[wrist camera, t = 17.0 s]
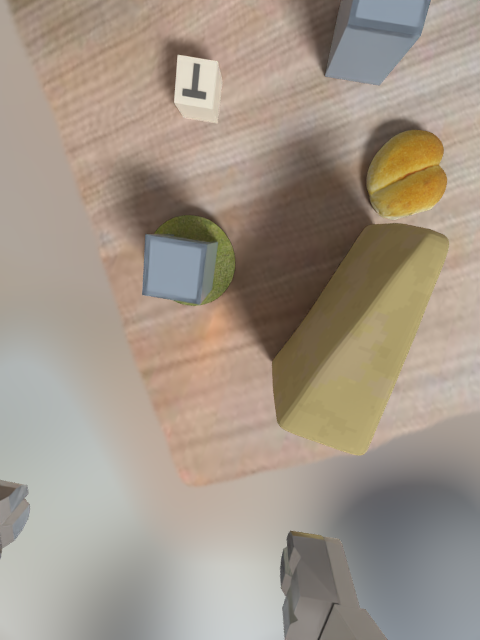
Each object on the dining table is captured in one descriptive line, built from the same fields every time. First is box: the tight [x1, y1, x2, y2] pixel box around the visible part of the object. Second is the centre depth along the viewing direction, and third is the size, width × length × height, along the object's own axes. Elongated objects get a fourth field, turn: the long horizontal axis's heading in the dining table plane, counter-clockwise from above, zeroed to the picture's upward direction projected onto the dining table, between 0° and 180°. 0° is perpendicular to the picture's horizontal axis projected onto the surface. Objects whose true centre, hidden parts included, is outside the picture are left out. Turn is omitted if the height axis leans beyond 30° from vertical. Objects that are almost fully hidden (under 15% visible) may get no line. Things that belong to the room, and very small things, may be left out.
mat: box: [154, 215, 235, 306], centre depth 36 cm, size 11×11×2 cm
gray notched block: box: [325, 0, 431, 85], centre depth 26 cm, size 6×6×8 cm
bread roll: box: [367, 130, 447, 220], centre depth 31 cm, size 8×9×4 cm
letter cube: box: [174, 55, 222, 123], centre depth 30 cm, size 4×4×4 cm
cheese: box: [272, 223, 449, 455], centre depth 31 cm, size 22×10×15 cm, turn 160°
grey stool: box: [142, 234, 218, 305], centre depth 31 cm, size 6×6×8 cm
